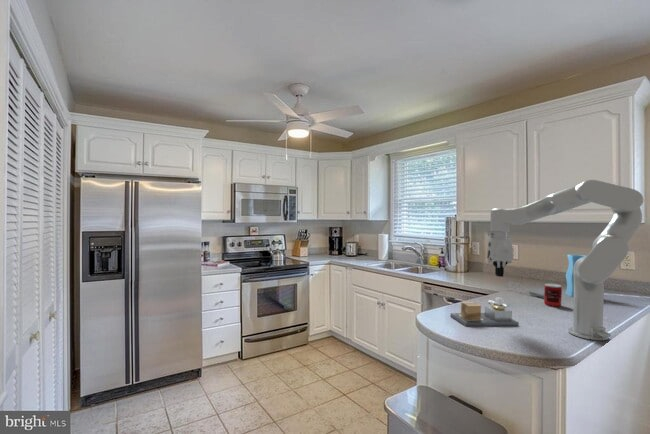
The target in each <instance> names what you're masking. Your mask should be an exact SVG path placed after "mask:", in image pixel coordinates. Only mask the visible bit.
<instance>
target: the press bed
mask: <svg viewBox="0 0 650 434" xmlns="http://www.w3.org/2000/svg"><path fill="white" fill-rule="evenodd" d="M450 318H452V319H454V320H455V321H457V322H458V323H459V324H461V323H462V324H461V325H463V326H464V325H465V326H464V327H518V326H520V325H519V321H517V320H515V319H513V311H512V310H511V309H508V308H506V307H505V310H496V309H493V308H492V305H491V306H490V305H486V306H485V305H484V312H481V319H466V318H465V317H463V316H461V312H451V313H450Z"/></svg>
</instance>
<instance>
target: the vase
mask: <svg viewBox="0 0 650 434" xmlns="http://www.w3.org/2000/svg"><path fill="white" fill-rule="evenodd" d="M586 256H587V255H583V254H580V255H579V254H567V259H568V268H567V271H566V273H565V279H566V280H565V281H566V291H565V295H566V294H567V295H566V296H568V295H569V296H571V297H570V298H572V297H574V275H573V268H574V264H575V262H576V261H577V260H578V259H580V258H582V257H586ZM569 296H568V297H569Z"/></svg>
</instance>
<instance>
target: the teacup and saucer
mask: <svg viewBox="0 0 650 434" xmlns="http://www.w3.org/2000/svg"><path fill="white" fill-rule="evenodd" d="M487 302H488V303H489V304H490V305H491V306H492V305H499V306H502V305H503V307H505V308H506V307H508V306H507V304H505V301H504V299H503V298H502V297H498V296H497V297H495V301H494V300H491V299H489V300H488V301H487Z"/></svg>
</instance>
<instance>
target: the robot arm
mask: <svg viewBox="0 0 650 434" xmlns="http://www.w3.org/2000/svg"><path fill="white" fill-rule="evenodd" d="M589 203H594V204H597V205H601V206H604V207H608V208H610V209H611V210H612V213H613V214H612V217H611V220H610V221H609V223H608V224H607V225H606V226H605V228H604V229H603V230H602V231H601V233H600V234H599V235H598V236H597V237H596V238H595V239H594V241H593V242H592V249H591V250H590V251H589V253H588V254H587V255H585V256H586V257H582V258H580V259H578V260H577V261H576V262H575V264H574V268H573V275H574V298H573V304H572V305H573V307H572V308H573V309H572V311H573V312H572V326H571V327H569V328H567V332H568V333H569V334H571V335H573V336H575V337H578V338H581V339H586V340H590V339H591V341H607V340H609V338H610V337H612V334H611V333H610V332H607V331H606V327H604V300H605V285H604V284H605V283H604V282H606V280H608V279H609V278H610V276H611V275H613V273H614V272H615V271H616V270H617V268H618V267H619V266H620V265H621V264H622V262H623V261H624V260H625V259H626V257H627V256H628V254H629V249H630V247H629V242H630V241H631V240H632V239H633V237H634V236H635V234H636V233H637V231H638V230H639V228H640V226H641V224H642V221H643V213H642V210H641V206H642V205H643V203H644V196H643V195H642V193H641V192H639V190H636V189H634V188H630V187H626V186H621V185H617V184H613V183H611V182H604V181H601V180H597V179H586V180H584V181H583V182H580V183H578V184H576V185H573V186H570V187H567V188H565V189H562V190H558V191H557V192H554V193H551V194H549V195H546V196H545V197H543V198H541V199H539V200H537V201H535V202H534V201H533V202H532V203H529V204H527V205H523V206H521V207H514V208H493V209H491V210H490V232H488V233H487V236H488V237H489V239H488V243H487V251H486V252H487V253H486V255H487V256H486V258H487V263H488V264H491V265H493V267H494V268H495V276H496V277H499V278H500V277H504V274H505V273H504V272H505V270H504V269H505V268H506V266H507V265H508V264H509V265H510V264H511V263H512V261H513V260H514V249H513V248H514V246H513V242H512V239H511V238H510V225H515V226H517V225H518V226H522V225H524V224H525V225H526V224H527V223H530V222H533V221H535V220H539V219H541V218H545V217H548V216H549V217H550V216H553V215H554V216H555V215H557V214H561V213H563V212H566V211H569V210H572V209H575V208H578V207H581V206H584V205H587V204H589Z"/></svg>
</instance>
